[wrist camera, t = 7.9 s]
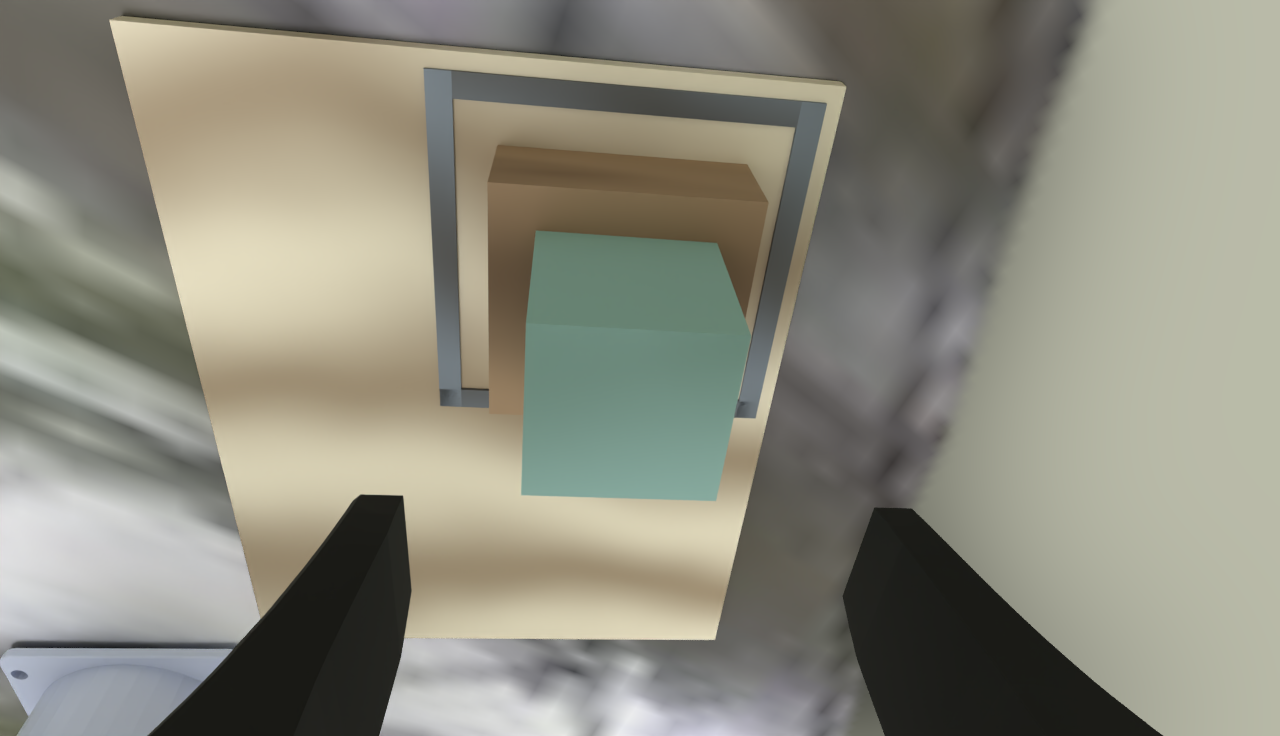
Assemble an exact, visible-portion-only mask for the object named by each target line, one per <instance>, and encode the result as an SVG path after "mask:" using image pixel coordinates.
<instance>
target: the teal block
mask: <svg viewBox="0 0 1280 736" xmlns="http://www.w3.org/2000/svg"><path fill="white" fill-rule="evenodd" d="M750 340H751V334H750V331H749V328H748V325H747V323H746V320H745V317H744V315H743V312H742V309H741V306H740V304H739V301H738V298H737V296H736V293H735V290H734V287H733V285H732V282H731V279H730V277H729V274H728V271H727V268H726V266H725V263H724V260H723V258H722V255H721V252H720V249H719V247H718V244H717V243H709V242H695V241H681V240H666V239H652V238H637V237H623V236H608V235H594V234H580V233H565V232H551V231H536V233H535V243H534V252H533V261H532V271H531V280H530V290H529V299H528V308H527V318H526V338H525V373H524V409H523V444H522V479H521V495H530V496H563V497H596V498H630V499H663V500H697V501H716V499H717V494H718V489H719V485H720V480H721V475H722V471H723V466H724V461H725V457H726V452H727V447H728V443H729V438H730V433H731V429H732V424H733V419H734V414H735V410H736V405H737V400H738V396H739V391H740V386H741V382H742V377H743V372H744V368H745V363H746V358H747V354H748V349H749V344H750Z"/></svg>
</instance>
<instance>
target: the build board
mask: <svg viewBox="0 0 1280 736" xmlns="http://www.w3.org/2000/svg"><path fill="white" fill-rule="evenodd" d="M109 21H110V25H111V29H112V33H113V37H114V40H115V44H116V48H117V52H118V56H119V60H120V64H121V68H122V72H123V76H124V80H125V84H126V88H127V92H128V96H129V100H130V104H131V108H132V112H133V116H134V120H135V123H136V127H137V131H138V135H139V139H140V143H141V147H142V151H143V155H144V159H145V163H146V167H147V171H148V175H149V179H150V183H151V187H152V191H153V195H154V199H155V203H156V207H157V210H158V214H159V218H160V222H161V226H162V230H163V234H164V238H165V242H166V246H167V250H168V254H169V258H170V262H171V266H172V270H173V274H174V278H175V282H176V286H177V290H178V293H179V297H180V301H181V305H182V309H183V313H184V317H185V321H186V325H187V329H188V333H189V337H190V341H191V345H192V349H193V353H194V357H195V361H196V365H197V369H198V373H199V376H200V380H201V384H202V388H203V392H204V396H205V400H206V404H207V408H208V412H209V416H210V420H211V424H212V428H213V432H214V436H215V440H216V444H217V448H218V452H219V456H220V459H221V463H222V467H223V471H224V475H225V479H226V483H227V487H228V491H229V495H230V499H231V503H232V507H233V511H234V515H235V519H236V523H237V527H238V531H239V535H240V539H241V543H242V546H243V550H244V554H245V558H246V562H247V566H248V570H249V574H250V578H251V582H252V586H253V590H254V594H255V598H256V602H257V606H258V610H259V614H260V618H262V617H263V616H264V615H265V614H266V612H267V611H268V610H269V609H270V608H271V607H272V605H273V604H274V603H275V602H276V600H277V599H278V598H279V597H280V596H281V594H282V593H283V592H284V591H285V590H286V588H287V587H288V586H289V585H290V583H291V582H292V581H293V580H294V579H295V577H296V576H297V575H298V574H299V573H300V571H301V570H302V569H303V568H304V566H305V565H306V564H307V562H308V561H309V560H310V559H311V557H312V556H313V555H314V553H315V552H316V551H317V549H318V548H319V547H320V546H321V544H322V543H323V542H324V540H325V539H326V538H327V536H328V535H329V534H330V532H331V531H332V529H333V528H334V527H335V525H336V524H337V522H338V521H339V520H340V518H341V517H342V516H343V514H344V513H345V511H346V510H347V508H348V507H349V505H350V504H351V502H352V501H353V500H354V499H355V498H356V497H358V496H359V495H360V494H365V495H403V498H404V510H405V521H406V532H407V543H408V555H409V566H410V577H411V589H412V592H411V598H410V605H409V611H408V617H407V624H406V630H405V636H404V638H480V639H648V640H715V637H716V633H717V628H718V624H719V620H720V616H721V612H722V607H723V603H724V599H725V595H726V591H727V586H728V582H729V578H730V574H731V570H732V565H733V561H734V557H735V553H736V549H737V544H738V540H739V536H740V532H741V528H742V524H743V519H744V515H745V511H746V507H747V503H748V498H749V494H750V490H751V486H752V482H753V477H754V473H755V469H756V465H757V461H758V456H759V452H760V448H761V444H762V440H763V435H764V431H765V427H766V423H767V419H768V414H769V410H770V406H771V402H772V398H773V393H774V389H775V385H776V381H777V377H778V372H779V368H780V364H781V360H782V356H783V351H784V347H785V343H786V339H787V335H788V330H789V326H790V322H791V318H792V314H793V309H794V305H795V301H796V297H797V293H798V288H799V284H800V280H801V276H802V272H803V267H804V263H805V259H806V255H807V251H808V246H809V242H810V238H811V234H812V230H813V225H814V221H815V217H816V213H817V209H818V204H819V200H820V196H821V192H822V188H823V183H824V179H825V175H826V171H827V167H828V162H829V158H830V154H831V150H832V146H833V141H834V137H835V133H836V129H837V125H838V120H839V116H840V112H841V108H842V104H843V99H844V95H845V91H846V86H845V85H844V84H843V83H842V82H840V81H829V80H819V79H808V78H797V77H786V76H775V75H764V74H753V73H742V72H731V71H720V70H709V69H698V68H687V67H676V66H665V65H654V64H643V63H632V62H621V61H610V60H599V59H588V58H577V57H566V56H555V55H545V54H534V53H523V52H512V51H501V50H490V49H479V48H468V47H457V46H446V45H435V44H424V43H413V42H402V41H391V40H380V39H369V38H358V37H347V36H336V35H325V34H314V33H303V32H292V31H282V30H271V29H260V28H249V27H238V26H227V25H216V24H205V23H194V22H183V21H172V20H161V19H150V18H139V17H128V16H119V17H116V18H113V19H111V20H109ZM497 145H505V146H518V147H531V148H544V149H557V150H569V151H582V152H595V153H608V154H621V155H634V156H647V157H660V158H673V159H686V160H698V161H711V162H724V163H737V164H747V165H748V166H749V168H750V170H751V172H752V174H753V175H754V177H755V179H756V181H757V182H758V184H759V186H760V188H761V190H762V191H763V193H764V195H765V197H766V198H767V200H768V202H769V204H768V208H767V213H766V218H765V223H764V228H763V233H762V238H761V243H760V248H759V253H758V258H757V263H756V268H755V273H754V278H753V283H752V288H751V293H750V298H749V303H748V308H747V313H746V318H745V320H746V323H747V325H748V328H749V331H750V334H751V340H750V344H749V349H748V354H747V358H746V363H745V368H744V372H743V377H742V382H741V386H740V391H739V396H738V400H737V405H736V410H735V414H734V419H733V424H732V429H731V433H730V438H729V443H728V447H727V452H726V457H725V461H724V466H723V471H722V475H721V480H720V485H719V489H718V494H717V499H716V501H697V500H663V499H630V498H596V497H563V496H530V495H521V479H522V444H523V415H508V414H489V332H488V191H487V182H488V178H489V175H490V171H491V167H492V164H493V160H494V156H495V152H496V149H497Z"/></svg>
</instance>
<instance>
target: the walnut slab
mask: <svg viewBox="0 0 1280 736" xmlns="http://www.w3.org/2000/svg"><path fill="white" fill-rule="evenodd" d="M487 191H488V332H489V414H508V415H523V409H524V373H525V338H526V318H527V308H528V299H529V290H530V280H531V271H532V261H533V252H534V243H535V233H536V231H551V232H565V233H580V234H594V235H608V236H623V237H637V238H652V239H666V240H681V241H695V242H709V243H717V244H718V247H719V249H720V252H721V255H722V258H723V260H724V263H725V266H726V268H727V271H728V274H729V277H730V279H731V282H732V285H733V287H734V290H735V293H736V296H737V298H738V301H739V304H740V306H741V309H742V312H743V315H744V317H745V318H746V313H747V308H748V303H749V298H750V293H751V288H752V283H753V278H754V273H755V268H756V263H757V258H758V253H759V248H760V243H761V238H762V233H763V228H764V223H765V218H766V213H767V208H768V204H769V202H768V200H767V198H766V197H765V195H764V193H763V191H762V190H761V188H760V186H759V184H758V182H757V181H756V179H755V177H754V175H753V174H752V172H751V170H750V168H749V166H748V165H747V164H737V163H724V162H711V161H698V160H686V159H673V158H660V157H647V156H634V155H621V154H608V153H595V152H582V151H569V150H557V149H544V148H531V147H518V146H505V145H497V149H496V152H495V156H494V160H493V164H492V167H491V171H490V175H489V178H488V182H487Z"/></svg>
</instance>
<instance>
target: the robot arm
mask: <svg viewBox="0 0 1280 736" xmlns="http://www.w3.org/2000/svg"><path fill="white" fill-rule="evenodd" d="M411 592H412V589H411V577H410V566H409V555H408V543H407V532H406V521H405V510H404V498H403V495H365V494H360V495H359V496H358V497H356V498H355V499H354V500H353V501H352V502H351V504H350V505H349V507H348V508H347V510H346V511H345V513H344V514H343V516H342V517H341V518H340V520H339V521H338V522H337V524H336V525H335V527H334V528H333V529H332V531H331V532H330V534H329V535H328V536H327V538H326V539H325V540H324V542H323V543H322V544H321V546H320V547H319V548H318V549H317V551H316V552H315V553H314V555H313V556H312V557H311V559H310V560H309V561H308V562H307V564H306V565H305V566H304V568H303V569H302V570H301V571H300V573H299V574H298V575H297V576H296V577H295V579H294V580H293V581H292V582H291V583H290V585H289V586H288V587H287V588H286V590H285V591H284V592H283V593H282V594H281V596H280V597H279V598H278V599H277V600H276V602H275V603H274V604H273V605H272V607H271V608H270V609H269V610H268V611H267V612H266V614H265V615H264V616H263V617H262V618H261V619H260V620H259V622H258V623H257V624H256V625H255V626H254V627H253V628H252V629H251V630H250V631H249V633H248V634H247V635H246V636H245V637H244V638H243V639H242V640H241V641H240V642H239V644H238V645H237V646H236V647H235V648H234V649H152V648H12V649H9V650H7V651H6V652H5V653H4V655H3V656H2V657H1V659H0V666H1V668H2V670H3V671H4V673H5V675H6V677H7V679H8V680H9V682H10V684H11V686H12V687H13V689H14V691H15V693H16V695H17V696H18V698H19V700H20V702H21V704H22V705H23V707H24V709H25V711H26V713H27V714H28V716H29V717H28V718H27V720H26V722H25V723H24V725H23V726H22V728H21V729H20V731H19V733H18V734H17V736H379V734H380V730H381V727H382V723H383V720H384V716H385V712H386V709H387V705H388V702H389V698H390V695H391V691H392V687H393V684H394V680H395V677H396V673H397V669H398V666H399V662H400V658H401V653H402V647H403V641H404V636H405V630H406V624H407V617H408V611H409V605H410V598H411ZM843 600H844V604H845V609H846V614H847V618H848V623H849V628H850V632H851V636H852V640H853V644H854V648H855V653H856V657H857V660H858V663H859V666H860V669H861V671H862V674H863V677H864V680H865V683H866V685H867V688H868V691H869V694H870V696H871V699H872V702H873V705H874V707H875V710H876V713H877V716H878V718H879V721H880V724H881V726H882V729H883V732H884V734H885V736H1163V735H1161V734H1160V733H1159V732H1157V731H1156V730H1155V729H1153V728H1152V727H1151V726H1149V725H1148V724H1147V723H1146V722H1144V721H1143V720H1142V719H1140V718H1139V717H1138V716H1137V715H1135V714H1134V713H1133V712H1132V711H1130V710H1129V709H1128V708H1127V707H1125V706H1124V705H1123V704H1121V703H1120V702H1119V701H1118V700H1116V699H1115V698H1114V697H1112V696H1111V695H1110V694H1109V693H1108V692H1106V691H1105V690H1104V689H1103V688H1101V687H1100V686H1099V685H1098V684H1097V683H1095V682H1094V681H1093V680H1092V679H1091V678H1089V677H1088V676H1087V675H1086V674H1085V673H1083V672H1082V671H1081V670H1080V669H1079V668H1078V667H1077V666H1075V665H1074V664H1073V663H1072V662H1071V661H1070V660H1069V659H1068V658H1066V657H1065V656H1064V655H1063V654H1062V653H1061V652H1060V651H1058V650H1057V649H1056V648H1055V647H1054V646H1053V645H1052V644H1051V643H1049V642H1048V641H1047V640H1046V639H1045V638H1044V637H1043V636H1042V635H1041V634H1040V633H1038V632H1037V631H1036V630H1035V629H1034V628H1033V627H1032V626H1031V625H1030V624H1028V622H1027V621H1026V620H1024V619H1023V618H1022V617H1021V616H1020V615H1019V614H1018V613H1017V612H1016V611H1015V610H1014V609H1013V608H1012V607H1011V606H1010V605H1009V604H1008V603H1007V602H1006V601H1005V600H1003V598H1001V597H1000V596H999V595H998V594H997V593H996V592H995V591H994V590H993V589H992V588H991V587H990V586H989V585H988V584H987V583H986V582H985V581H984V580H983V579H982V578H981V577H980V576H979V575H978V574H977V573H976V572H975V571H974V570H973V569H972V568H971V567H970V566H969V565H968V564H967V563H966V562H965V561H964V560H963V559H962V558H961V557H960V556H959V555H958V554H957V553H956V552H955V551H954V550H953V549H952V548H951V547H950V546H949V545H948V544H947V543H946V542H945V541H944V540H943V539H942V538H941V537H940V536H939V535H938V534H937V533H936V532H935V531H934V530H933V529H932V528H931V527H930V526H929V525H928V524H927V523H926V522H925V521H924V520H923V519H922V518H921V517H920V516H919V515H918V514H917V513H916V512H915V511H914V510H913V509H907V508H874V510H873V513H872V516H871V519H870V522H869V524H868V527H867V530H866V533H865V535H864V538H863V541H862V544H861V547H860V549H859V552H858V555H857V558H856V560H855V563H854V566H853V569H852V572H851V574H850V577H849V580H848V583H847V585H846V588H845V591H844V594H843Z"/></svg>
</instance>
